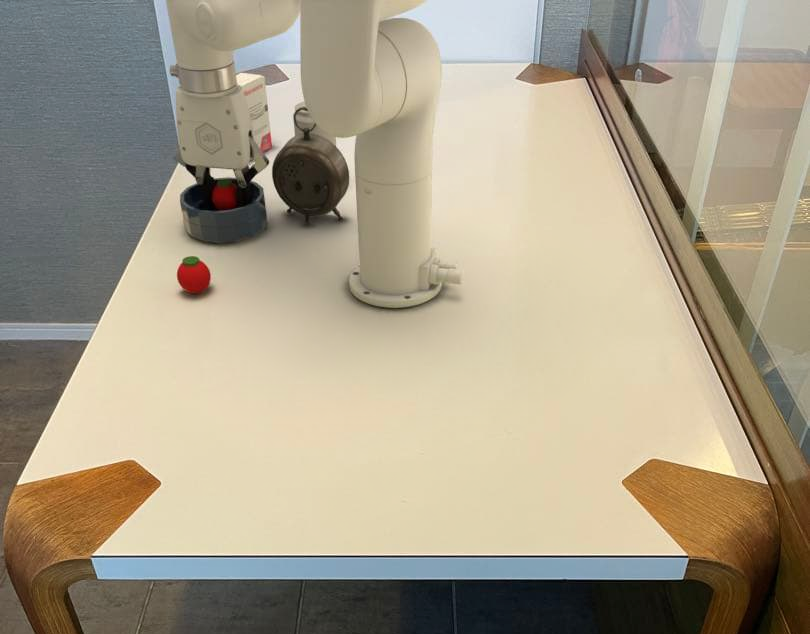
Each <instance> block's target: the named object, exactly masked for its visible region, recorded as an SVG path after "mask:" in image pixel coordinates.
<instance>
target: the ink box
mask: <svg viewBox="0 0 810 634" xmlns="http://www.w3.org/2000/svg"><path fill="white" fill-rule="evenodd" d="M236 80H237V85H240V86H241V87H242V90H243V92H244V95H245V98H246V101H247V105H248V108H249V112H250V117H251V121H252V126H253V131H254V137H255V143H256V144H257V145H258V147H259V148H260V149H261V151H262V152H263V153H264V152H266V151H267V150H269V149H271V148H272V147H273V142H272V132H271V125H270V124H271V123H270V114H269V105H268V98H267V97H268V96H267V88H266V79H265V76H264V75H262V74H255V73H246V72H240V73H238V74H236ZM251 160H254V159H253V158H252V159H250V161H251Z"/></svg>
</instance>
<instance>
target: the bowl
mask: <svg viewBox="0 0 810 634" xmlns="http://www.w3.org/2000/svg"><path fill="white" fill-rule="evenodd" d="M214 179H215V184H216V185H217V182H218V181H219V180H222V179H229V180H231V181H232V183H233V184H235V185H236V186H238V182H237V180H236V177H229V176H228V177H227V176H226V177H218V178H217V177H216V178H215V177H214ZM250 188H251V195H252V203H250V204H248V205H246V206H244V207H240V208H236V209H233V210H225V211H219V210H218V209H217V208H216V207H215V208H214V209H213V210H212V211H207V210H206V205H205V203H204V202H203V198H202V193H201V187H200V184H198V183H197V182H195V183H194V184H192V185H190V186H188V187H186V188H185V189H184V190H183V191H182V192H181V193H180V194H179V203H180V204H179V205H180V209H181V214H182V218H183V224H184V228H185V231H186V232H187V233H188V234H189V235H190V236H191V237H193V238H196V239H198V240H201V241H203V242H212V243H233V242H238V241H242V240H245V239H248V238H251V237H253V236H255V235H257V234H259V233H261V232H262V231H263V230H264V229H265V228H266V226H267V225H268V223H269V222H268V214H267V207H266V198H265V191H264V190H265V189H264V187H263V186H261V185H260V184H259V183H258V182H257V181H254V180H251V181H250Z"/></svg>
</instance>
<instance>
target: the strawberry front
mask: <svg viewBox="0 0 810 634" xmlns="http://www.w3.org/2000/svg"><path fill="white" fill-rule="evenodd" d="M236 188H237V186H236V185H235V184H233V183H232V181H231V180H229V179H222V180H219V181H218V182H217V185H216V186H215V187H214V189H213V192H212V201H213V204H214V205H215V207H216V208H217V209H218V210H219V211H225V210H233V209H236V208H238V203H237V196H236Z"/></svg>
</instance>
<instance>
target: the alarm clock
mask: <svg viewBox="0 0 810 634" xmlns="http://www.w3.org/2000/svg"><path fill="white" fill-rule="evenodd" d="M300 110H307V107H300V108H299V109H297V110H296V112H295V111H294V112H293V115H294V120H293V123H294V122H295V125H296V126H297V128H298V129H300V130H301V131H303V132H304V134H300V135H297V136H295V135H294V136H293V137H291V138H290V139H289V140H288V141H287V142H286V143H285V144H284V146H283V147H281V149H280V150H279V151H278V153H277V154H276V156H275V157H274V159H273V162H272V168H271V177H272V178H271V179H272V182H273V186H274V189H275V191H276V193H277V195H278V196H279V198H280V199H281V200H282V201H283V203H284V204H285V205H286V206H287V207H288V208H287V209H286V212H287V214H290V213H292V211H294V212H296V213H298V214H299V215H302V216H304V225H305V226H307V227H308V226H309V225H310V219H311V217H312V218H316V217H317V218H318V217H322V216H326V215H327V214H329V213H331V212H333V214H334V215H335V216H336V217H337V219H338V221H340V222H341V221H343V219H344V218H343V216H342V215H341V213H340V211H339V210H338V209H337V206H338V205H339V203H340V202H341V201H342V199H343V198H344V197H345V196H346V193H348V189H349V185H350V170H349V166H348V164H347V161H346V158H345V156H344V154H343V153H342V152H341V150H340V149H339V148H338V147H337V145H336V146H335V145H334V144H333V143H332V142H330V141H329V140H327V139H326V138H324V137H322V136H319V135H316V134H310V133H309V132H310V131H312V130H313V129H314V128H315V126H316V124H315V123H314V126H313V128H312V129H309V128H307V127H305V128H304V129H302V128H300V127H299V126H298V124H297V122H296V115H297V113H298V112H299V111H300Z"/></svg>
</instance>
